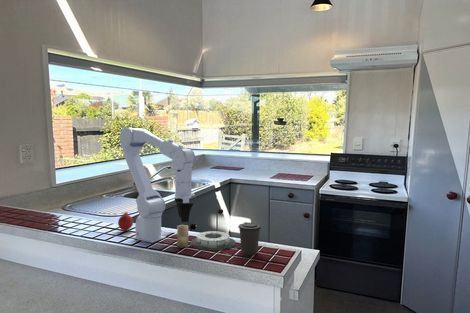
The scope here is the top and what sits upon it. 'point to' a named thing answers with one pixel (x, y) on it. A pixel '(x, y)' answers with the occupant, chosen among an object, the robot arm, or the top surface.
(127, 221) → the onion
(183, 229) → the peg
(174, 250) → the top surface
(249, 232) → the coffee cup
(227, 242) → the rosette
